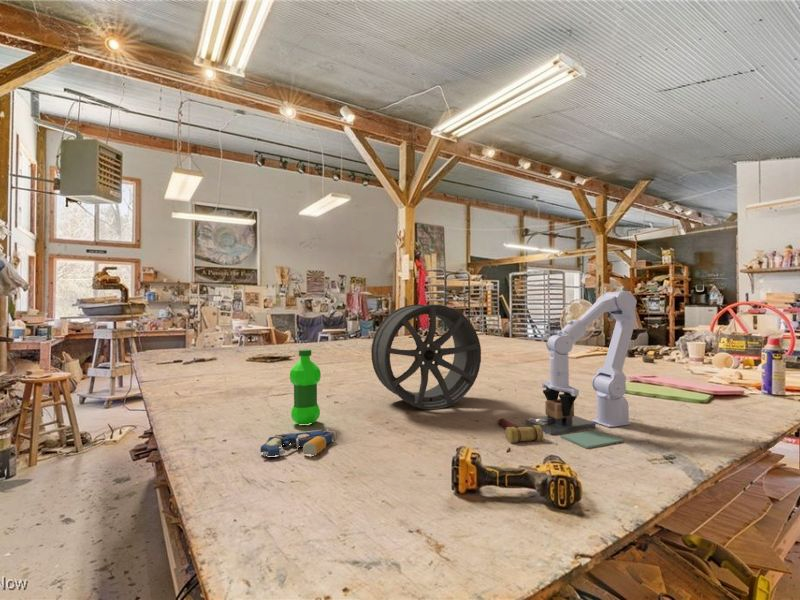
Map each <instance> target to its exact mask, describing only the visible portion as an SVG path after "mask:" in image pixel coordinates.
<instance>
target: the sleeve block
mask: <svg viewBox="0 0 800 600" xmlns="http://www.w3.org/2000/svg"><path fill="white" fill-rule="evenodd" d="M547 415H548V416H551V417H553V418H556V419H559V418H566V417H573V416H575V402H574V403H573V405H572V408H571V411H570V415H569V416H563V413H562V404H561V400H560V398H558V399H557V400H549V401H547V400H545V416H547Z"/></svg>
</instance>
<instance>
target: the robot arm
mask: <svg viewBox="0 0 800 600" xmlns="http://www.w3.org/2000/svg"><path fill="white" fill-rule="evenodd" d="M637 302H638V301H637V299H636V297H635V296H634V295H633V293H632V292H631V291H628V290H623V291H605V292H603V293H602V294H601V296H599V297H598V298H597V299H596V301H595V302H594V303H593V304H592V305H591V306H590V307H589V308H588V309H587V310H586V311H585V312H584V313H583V314H582V315H581V317H579V318H578V319H570V320H568V321H567V322H566V323H567V324H566V325H564V327H563V328H562V329H561V330H558V331H557V332H556V334H553V335H551V336H550V337H549V338H548V339H547V342H546V343H545V345H546V348H547V350H548V351H549V381H547V380H546V381H541V387H542V388H543V390H542V393H543V395H544V396H545V399H546V401H549V400H557V399H560V400H561V404H562V413H563V416H569V415H570V411H571V408H572V405H573V403H574V404H575V402H576V399H577V397H579V394H580V393H579V392H580V389H578V388H575V387H572V386H571V385H570V381H569V380H570V374H569V371H570V370H569V369H570V367H569V365H570V364H569V359H570V358H569V353H570V352H571V351H572V350H573V346H574V344H575V343H576V342H577V341H579V339H580V338H582V336H584V335H585V334H586V333H587V328H588V326H590V324H592V323H593V322H594V321H595V320H597V319H598V318H600V316H602V315H603V314H605V313H607V312H608V313H609V314H610V315H611V316H612V317H613V318H614V319H615V325H614V328H613V331H612V335H611V339H610V343H609V347H608V350H607V353H606V357H605V361H604V365H603V366H601V367H599V368H598V370H597V372H596V374H595V376H594V377H593V378H592V381H591V386H592V389H593V390H594V391H595V395H596V418H591V419H590V421H592V422H595V423H596V424H599V425H602V426H604V427H607V428H616V427H621V426H626V425H627V426H628V425H631V424H632V422H630V419H629V417H630V416H629V415H630V414H629V411H630V410H629V406H630V405H629V402H628V399H627V398H626V397H625V396H624V395H625V393H626V391H627V385H626V381H627V377H626V375H625V373H624V371H623V368H624V364H625V362H626V357H627V355H628V350H629V348H630V342H631V340H632V337H633V336H632V335H633V333H634V332H633V331H634V329H635V325H636V321H637V316H636V306H637ZM560 393H561V394H560Z"/></svg>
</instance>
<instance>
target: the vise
mask: <svg viewBox="0 0 800 600" xmlns="http://www.w3.org/2000/svg"><path fill="white" fill-rule="evenodd" d="M524 420H525V423H524V424H525V425H527V426H528V427H531V426H533V425H539V426H540V427H541V428H542V430H543V433H545V434H548V435H549V436H553V435H558V434H560V435H561V434H564V433H571V432H572V433H573V432H578V431H584V429H585V430H590V428H591V429H596V427H597V426H596V424H597V423H596V422H593V421H591V420H589V419H585V418H583V417H580V416H576V415H574V416H573V417H566V418H559V419H556V418H553V417H551V416H548V415H545V416H539V417H530V418H525V419H524Z"/></svg>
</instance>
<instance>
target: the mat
mask: <svg viewBox="0 0 800 600" xmlns="http://www.w3.org/2000/svg"><path fill="white" fill-rule="evenodd" d="M560 438H561V439H563V440H565V441H568V442H570V443H573V444H575V445H577V446H578V447H582V448H584V449H587V450H588V449H591V448H592V449H594V448H599V447H604V446H603V445H605V446H609V444H610V445H615V444H614V443H616V444H620V443H619V442H621V443H624V442H625V439H623V438H621V437H620V438H619V437H617V436H615V435H611V434H608V433H606V432H603V431H600V430H598V429H594V430H593V429H592V430H588V431H587V430H586V431H580V432H575V433H574V432H572V433H568V434H562V435H561V434H560Z"/></svg>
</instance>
